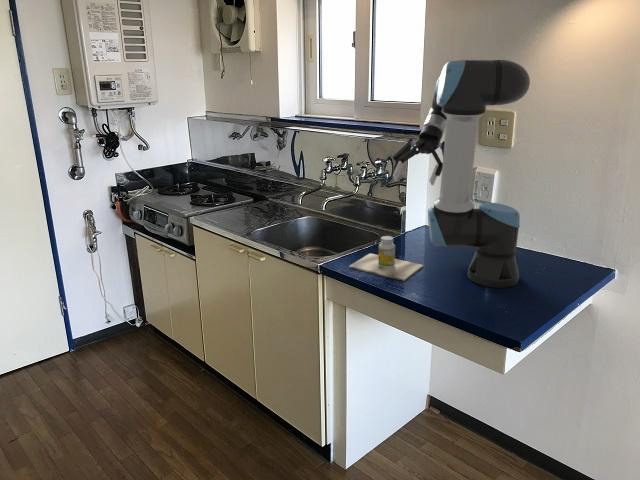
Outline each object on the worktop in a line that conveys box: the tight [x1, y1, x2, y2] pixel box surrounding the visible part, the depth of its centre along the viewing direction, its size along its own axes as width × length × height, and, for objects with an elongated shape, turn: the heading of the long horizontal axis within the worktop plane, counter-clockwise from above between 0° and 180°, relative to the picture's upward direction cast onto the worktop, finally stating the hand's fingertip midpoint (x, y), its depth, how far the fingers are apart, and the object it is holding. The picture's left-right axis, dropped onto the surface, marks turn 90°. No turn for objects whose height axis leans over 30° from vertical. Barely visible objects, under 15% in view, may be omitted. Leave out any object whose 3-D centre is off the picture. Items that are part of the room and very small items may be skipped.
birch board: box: [348, 253, 424, 282], centre depth 171 cm, size 20×14×1 cm
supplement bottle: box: [378, 235, 396, 268], centre depth 169 cm, size 5×5×10 cm
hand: (412, 180), depth 176 cm, fingers open, 13 cm apart
